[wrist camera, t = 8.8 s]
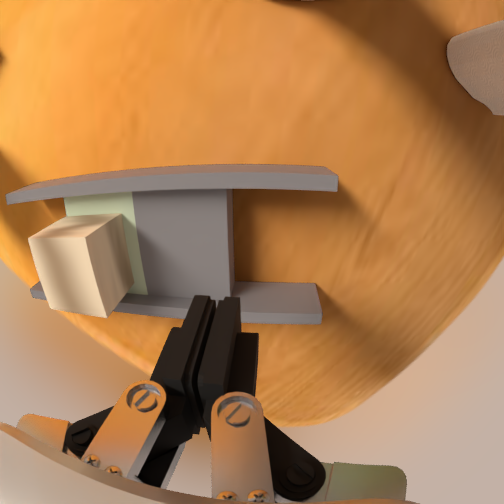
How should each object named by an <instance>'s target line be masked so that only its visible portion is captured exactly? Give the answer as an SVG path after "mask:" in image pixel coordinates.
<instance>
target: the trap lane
mask: <svg viewBox="0 0 504 504" xmlns="http://www.w3.org/2000/svg"><path fill="white" fill-rule="evenodd" d="M337 188H338V175H336V174H335V173H333V172H332V171H331V170H329V169H328V168H326V167H321V166H302V165H273V164H216V165H187V166H168V167H154V168H141V169H130V170H120V171H111V172H102V173H94V174H87V175H80V176H73V177H66V178H60V179H54V180H48V181H43V182H37V183H33V184H31V185H28V186H25V187H23V188H20V189H18V190H15V191H13V192H10V193H8V194H5V195H6V201H7V205H9V204H15V203H22V202H29V201H37V200H44V199H53V198H61V197H71V196H81V195H92V194H104V193H117V192H132V198H133V207H134V215H135V222H136V230H137V236H138V243H139V249H140V255H141V261H142V267H143V272H144V277H145V282H146V287H147V292H148V295H143V294H132V293H126V294H125V296H124V297H123V298H122V299H121V301H120V302H119V303H118V305H117V306H116V307H115V309H114V310H113V311H116V312H123V313H132V314H140V315H149V316H159V317H169V318H180V319H185V317H186V315H187V312H188V310H189V307H190V305H191V303H192V300H193V298H194V296H195V295H208V296H210V297H211V300H215V301H216V309H217V305H218V302H219V300H224V298H225V296H227V297H240V306H241V323H265V324H321V320H322V314H323V313H322V309H321V305H320V301H319V297H318V293H317V289H316V285H315V283H278V282H244V281H235V269H234V234H233V190H232V189H289V190H314V191H333V192H337ZM30 291H31V294H32V297H33V298H37V299H42V300H47V298H46V296H45V293H44V290H43V287H42V284H41V282H40V281H39V282H38V283H37V284H36V285H34V286H33V287H32V288H31V289H30Z"/></svg>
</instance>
